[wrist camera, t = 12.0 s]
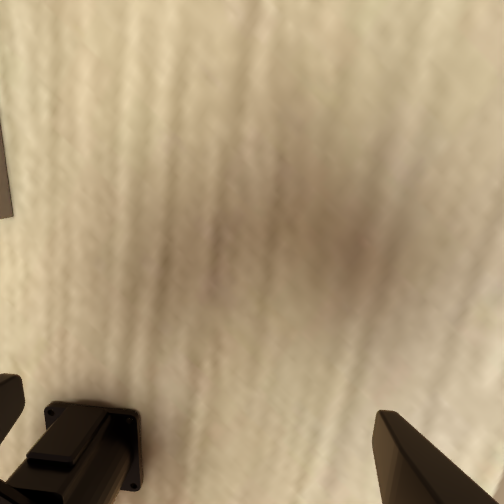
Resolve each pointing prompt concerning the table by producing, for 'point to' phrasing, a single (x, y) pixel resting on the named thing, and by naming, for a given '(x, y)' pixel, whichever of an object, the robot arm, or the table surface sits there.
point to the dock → (4, 186)
